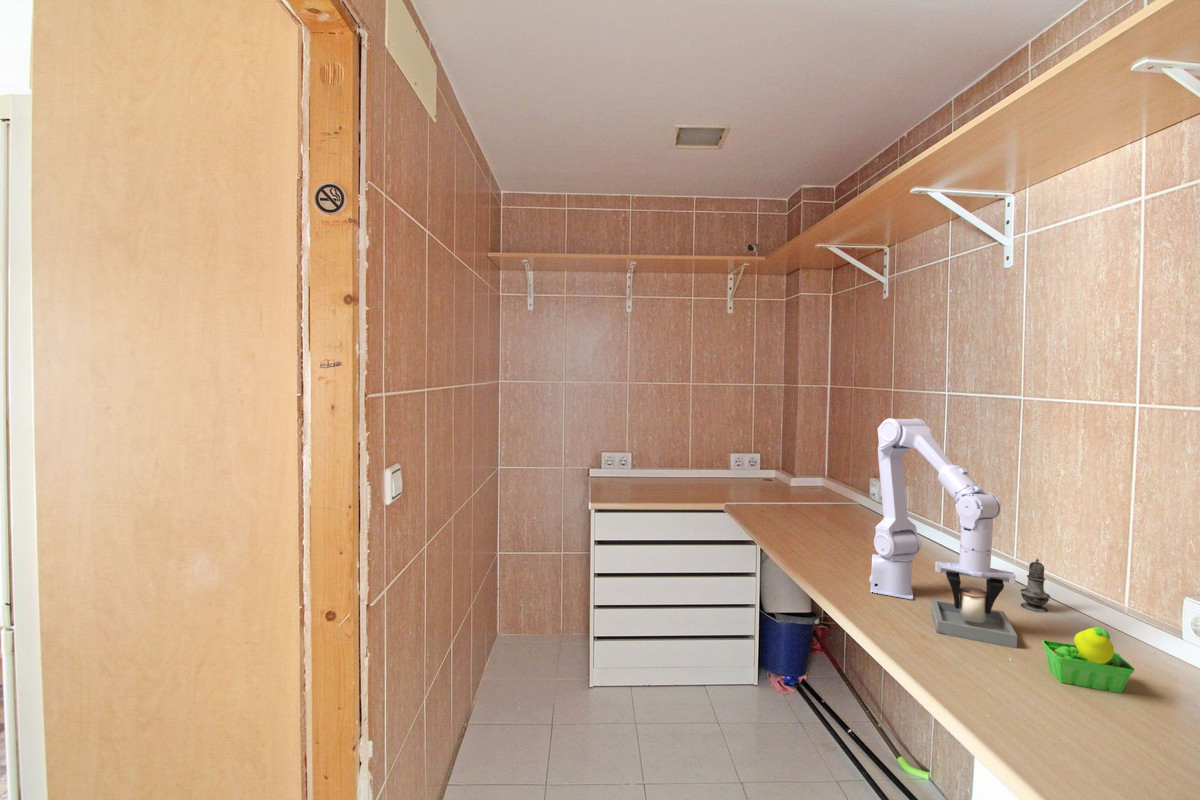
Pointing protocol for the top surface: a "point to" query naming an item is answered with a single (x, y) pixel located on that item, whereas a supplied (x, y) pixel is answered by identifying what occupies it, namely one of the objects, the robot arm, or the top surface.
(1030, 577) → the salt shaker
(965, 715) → the top surface
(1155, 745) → the top surface
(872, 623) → the top surface
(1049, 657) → the fruit basket
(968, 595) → the cup
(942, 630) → the tray
